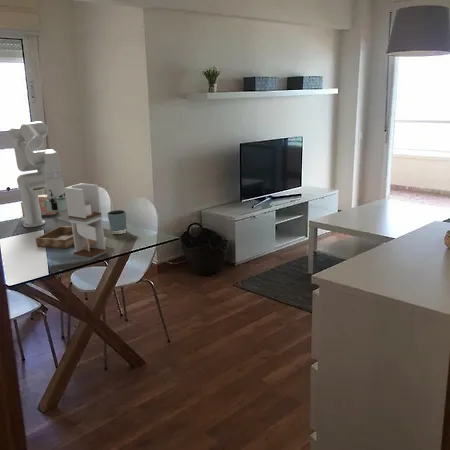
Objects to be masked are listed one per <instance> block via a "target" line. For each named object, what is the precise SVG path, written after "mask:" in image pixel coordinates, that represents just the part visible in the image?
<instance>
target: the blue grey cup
mask: <svg viewBox="0 0 450 450" xmlns="http://www.w3.org/2000/svg"><path fill="white" fill-rule="evenodd" d="M126 215H127V212H126V210H124V209H123V210H122V209H119V210H118V209H115V210H111V211H108V212H107V218H108V221H109V227H110V232H111V231H119V230H124V229H128V228H127V227H128V226H127V216H126Z"/></svg>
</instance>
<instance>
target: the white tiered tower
mask: <svg viewBox="0 0 450 450" xmlns="http://www.w3.org/2000/svg"><path fill="white" fill-rule="evenodd" d="M64 189H65V198H66V203H67V215H68V222H69V223H71V224H70V225H71V227H72V232H73V239H74V245H73V246H74V252H73V257H75V258H80V259H84V260H89V261H90V260H91V261H92V260H93V259H96V258H97V257H98V258H99V257H100V256H102V255H105V254H107V250H106V242H105V241H106V239H105V233H104V225H103V216H102V210H101V199H100V193H99V185H98V184H92V183H81V182H80V183H78V184H73V185H69V186H67V187H64Z"/></svg>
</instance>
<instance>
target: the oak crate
mask: <svg viewBox="0 0 450 450" xmlns="http://www.w3.org/2000/svg"><path fill="white" fill-rule="evenodd" d="M35 242H36V247H37V248H40V247H41V248H44V249H61V250H67V249H69V248H71V247H73V246H74V239H73V232H72V226H67V225H65V226H64V225H63V226H62V225H60V226H57V227H55V228H53V229H51V230H49V231H47V232H45V233H43V234H42V235H41V234H40V235H39V236H37V237H35Z"/></svg>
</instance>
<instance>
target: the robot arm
mask: <svg viewBox="0 0 450 450" xmlns="http://www.w3.org/2000/svg"><path fill="white" fill-rule="evenodd" d="M48 131H49V129H48V126H47V125H46V123H45V122H43V121H32V122H25V123H22V124H21V126H16V127H12V128H11V129H9V130H8V138H9V140H10V143H11V144H12V146H13V149H14V155H15V160H16V161H15V162H16V166H17V169H18V171H20V172H23V173H22V174H19V176H17V179H16V183H17V186H18V189H19V191H20V198H21V202H22V203H23V209H24V215H25V216H22V217H21V218H20V222H23V224H22V225H23V227H25V228H35V227H40V226H43V225H45V224H46V221H45V220H44V219H43V217H42V216H43V215H41V210H40V204H39V198H38V195H37V193H36V192H34V191H33V189H35V188H40V187H44V188H46V195H47V199H48V200H49V201H50V203H51V207H52V210H58V208H57V203H56V198H66V196H65V189H64V188H65V185H64V183H65V182H64V180H63V177H62V170H61V169H62V168H61V163H60V156H59V153H58V151H55V149H51V148H50V149H43V150H39V149H40V148H41V147H42V146H43V145H44V142H45V140H44V138H45V137H47V135H48V133H49V132H48ZM25 172H28V173H25ZM53 196H54V197H53ZM53 198H54V200H53Z"/></svg>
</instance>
